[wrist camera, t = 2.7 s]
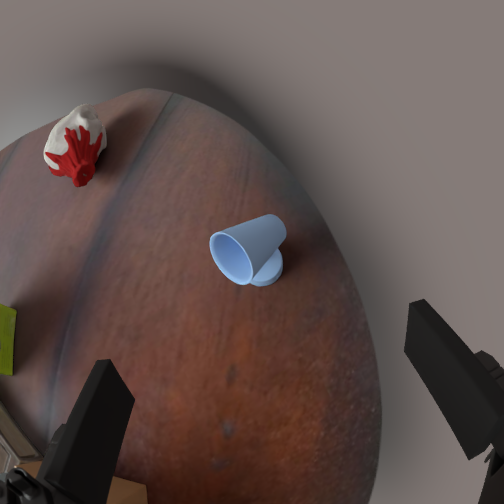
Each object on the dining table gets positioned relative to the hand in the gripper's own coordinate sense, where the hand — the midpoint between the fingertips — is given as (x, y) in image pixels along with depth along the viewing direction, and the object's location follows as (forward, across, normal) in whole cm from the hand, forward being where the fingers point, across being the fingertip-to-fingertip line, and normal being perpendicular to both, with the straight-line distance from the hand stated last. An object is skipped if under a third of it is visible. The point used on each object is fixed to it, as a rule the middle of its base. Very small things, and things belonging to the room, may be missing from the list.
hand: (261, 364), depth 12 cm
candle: (+37, -24, +11) cm, 46 cm away
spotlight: (+20, 0, -5) cm, 21 cm away
